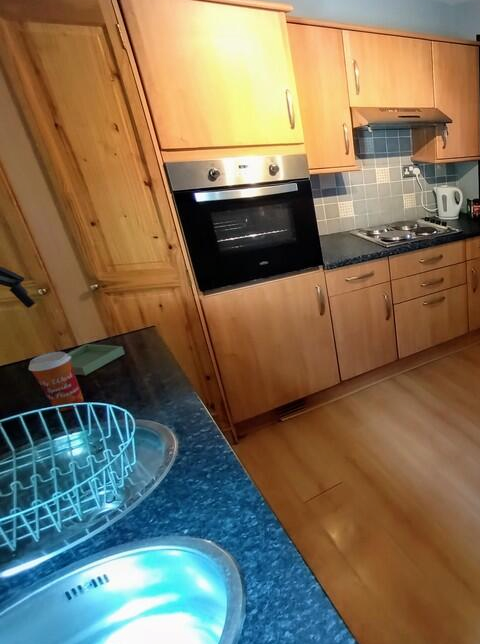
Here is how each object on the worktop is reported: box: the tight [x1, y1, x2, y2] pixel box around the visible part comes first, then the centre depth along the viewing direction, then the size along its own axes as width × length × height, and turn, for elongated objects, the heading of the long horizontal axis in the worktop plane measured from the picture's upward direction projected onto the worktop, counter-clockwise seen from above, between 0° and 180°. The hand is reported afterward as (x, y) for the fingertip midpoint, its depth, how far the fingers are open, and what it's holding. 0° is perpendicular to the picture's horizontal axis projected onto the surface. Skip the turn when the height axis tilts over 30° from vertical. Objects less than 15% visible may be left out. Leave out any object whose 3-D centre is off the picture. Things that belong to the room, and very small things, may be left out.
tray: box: [66, 343, 126, 376], centre depth 136 cm, size 13×13×3 cm
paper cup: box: [27, 351, 85, 412], centre depth 115 cm, size 8×8×14 cm
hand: (4, 315), depth 125 cm, fingers open, 13 cm apart
